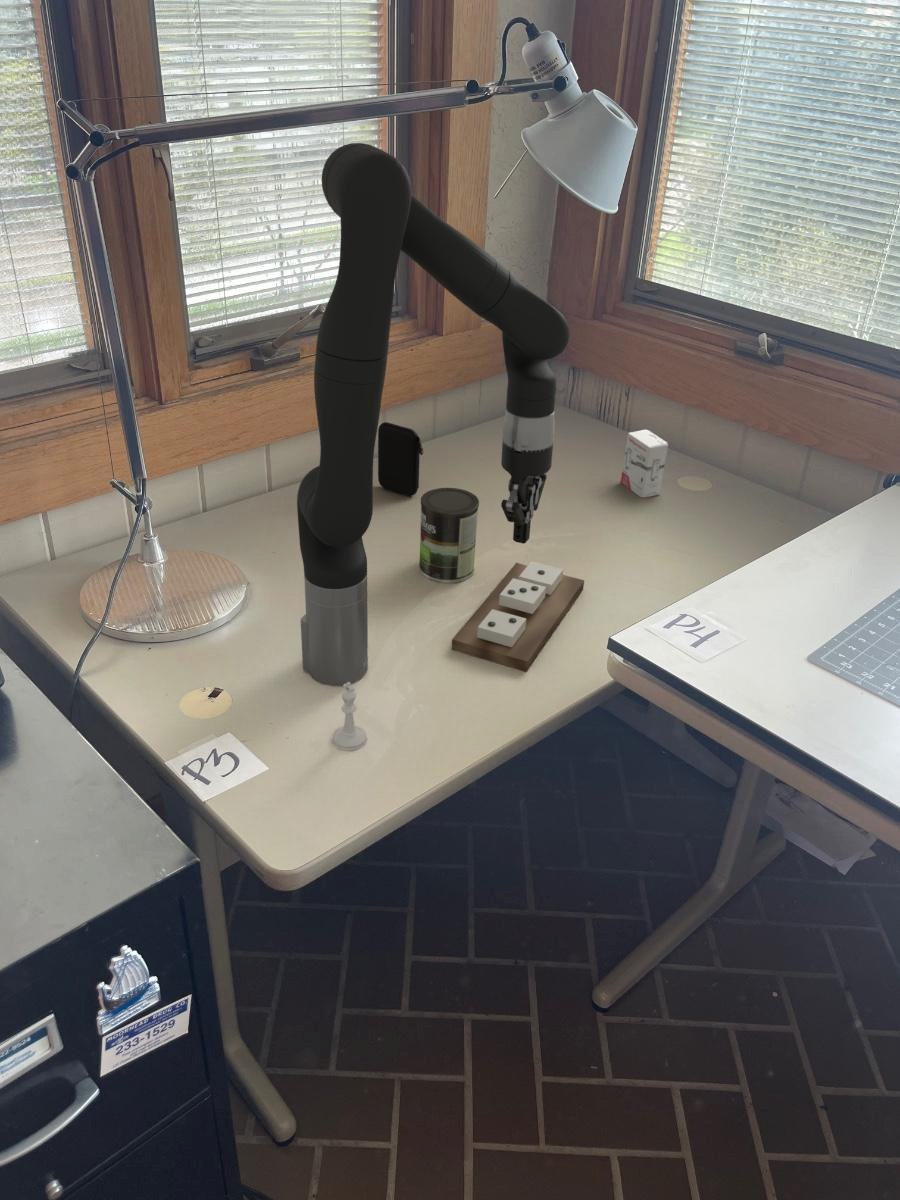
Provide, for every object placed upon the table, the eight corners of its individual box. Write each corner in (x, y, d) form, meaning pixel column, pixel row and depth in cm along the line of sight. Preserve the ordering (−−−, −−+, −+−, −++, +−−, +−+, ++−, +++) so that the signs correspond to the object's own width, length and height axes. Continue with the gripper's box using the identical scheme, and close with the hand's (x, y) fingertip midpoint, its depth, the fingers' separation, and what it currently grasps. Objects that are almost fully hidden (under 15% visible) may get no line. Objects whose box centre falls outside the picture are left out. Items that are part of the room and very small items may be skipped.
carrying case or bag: (425, 496, 210) (427, 430, 202) (417, 502, 208) (418, 435, 200) (383, 483, 215) (383, 418, 207) (374, 488, 212) (374, 422, 205)
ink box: (619, 482, 220) (626, 431, 214) (637, 478, 222) (645, 428, 215) (641, 498, 213) (649, 446, 207) (660, 495, 215) (669, 443, 209)
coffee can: (430, 587, 180) (432, 516, 172) (411, 559, 188) (412, 491, 180) (483, 578, 183) (488, 509, 175) (462, 552, 191) (466, 484, 183)
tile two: (477, 637, 163) (477, 626, 161) (491, 619, 167) (492, 608, 166) (511, 647, 161) (512, 635, 159) (525, 628, 165) (526, 617, 164)
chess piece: (349, 724, 147) (348, 668, 141) (374, 738, 144) (374, 682, 139) (324, 740, 143) (322, 683, 138) (349, 755, 141) (348, 698, 135)
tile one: (518, 586, 177) (519, 575, 175) (530, 570, 181) (531, 560, 180) (550, 594, 175) (551, 583, 173) (562, 579, 179) (563, 568, 178)
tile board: (451, 649, 163) (452, 639, 162) (515, 572, 185) (516, 562, 184) (526, 671, 159) (527, 661, 158) (583, 589, 181) (584, 580, 180)
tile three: (498, 604, 169) (499, 593, 168) (512, 588, 174) (513, 577, 173) (532, 614, 167) (533, 602, 166) (545, 597, 172) (546, 585, 170)
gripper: (521, 418, 156) (515, 518, 165) (486, 449, 146) (481, 553, 155) (567, 427, 153) (558, 528, 163) (535, 459, 143) (527, 565, 153)
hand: (520, 540), depth 159 cm, fingers closed
